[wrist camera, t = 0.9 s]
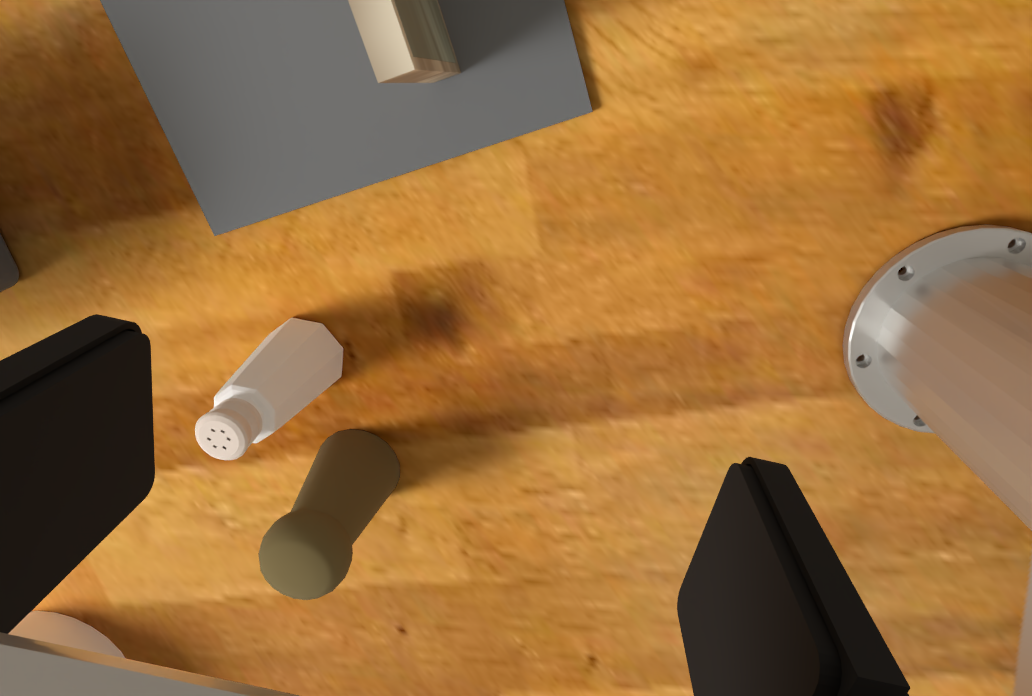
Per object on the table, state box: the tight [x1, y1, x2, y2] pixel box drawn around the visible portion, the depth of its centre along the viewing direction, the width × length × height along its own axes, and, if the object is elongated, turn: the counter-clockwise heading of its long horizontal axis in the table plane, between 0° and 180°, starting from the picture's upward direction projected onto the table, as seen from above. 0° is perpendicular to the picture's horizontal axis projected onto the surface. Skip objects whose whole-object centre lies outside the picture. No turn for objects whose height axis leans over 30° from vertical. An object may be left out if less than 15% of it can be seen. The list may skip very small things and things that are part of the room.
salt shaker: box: [195, 318, 343, 460], centre depth 37 cm, size 5×5×11 cm
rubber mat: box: [100, 0, 593, 236], centre depth 34 cm, size 24×16×1 cm, turn 108°
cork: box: [259, 429, 400, 600], centre depth 40 cm, size 6×6×11 cm
